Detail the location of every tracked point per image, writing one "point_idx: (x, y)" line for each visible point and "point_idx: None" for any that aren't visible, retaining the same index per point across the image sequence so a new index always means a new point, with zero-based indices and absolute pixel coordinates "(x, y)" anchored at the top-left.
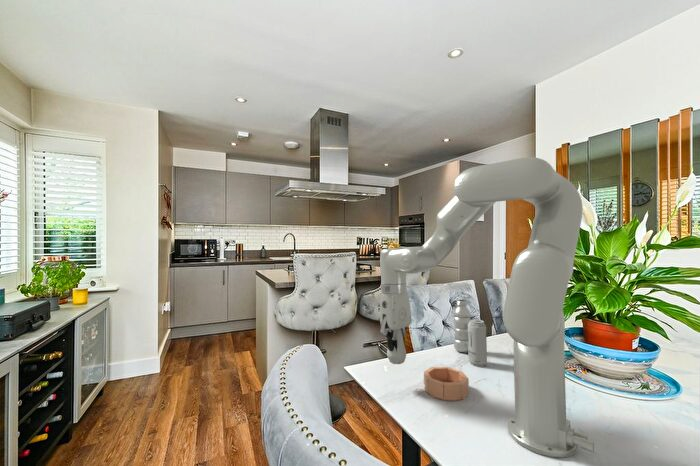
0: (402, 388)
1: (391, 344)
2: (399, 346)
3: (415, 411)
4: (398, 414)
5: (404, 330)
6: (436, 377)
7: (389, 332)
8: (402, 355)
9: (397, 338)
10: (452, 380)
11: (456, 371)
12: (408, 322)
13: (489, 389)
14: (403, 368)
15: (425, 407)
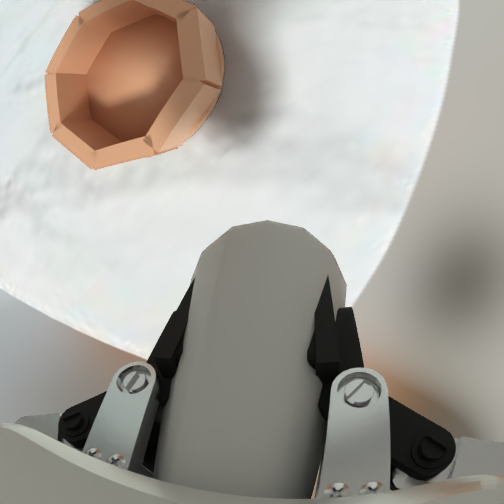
0: (269, 192)
1: (359, 353)
2: (299, 293)
3: (371, 51)
4: (430, 88)
5: (112, 416)
6: (112, 140)
7: (440, 465)
8: (282, 231)
9: (297, 378)
10: (85, 98)
11: (56, 81)
12: (15, 473)
13: (52, 30)
14: (145, 293)
15: (318, 39)
